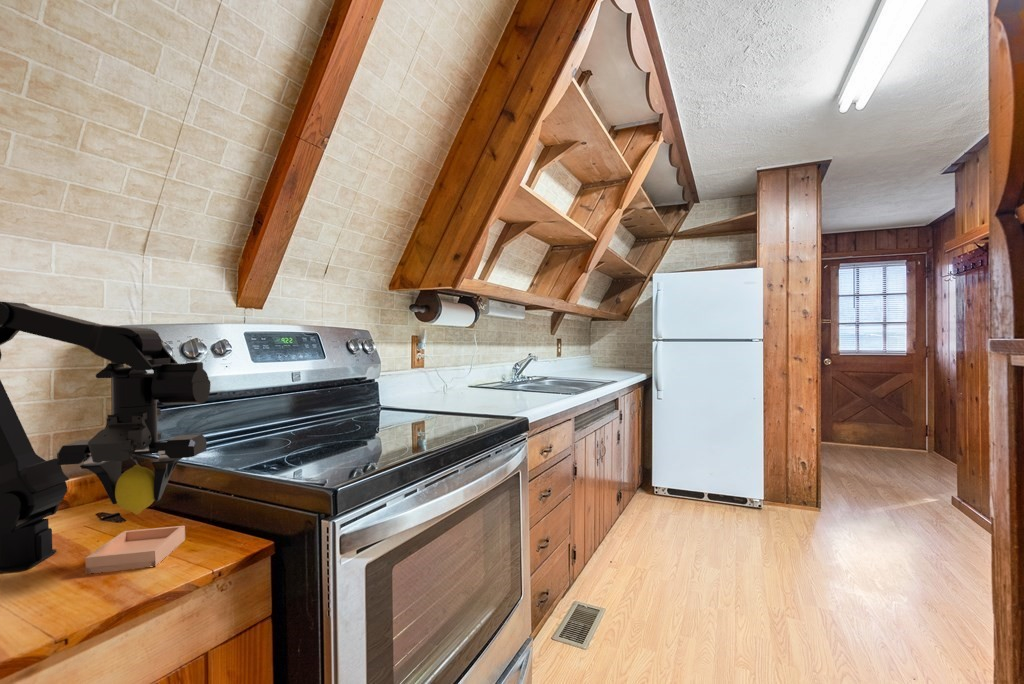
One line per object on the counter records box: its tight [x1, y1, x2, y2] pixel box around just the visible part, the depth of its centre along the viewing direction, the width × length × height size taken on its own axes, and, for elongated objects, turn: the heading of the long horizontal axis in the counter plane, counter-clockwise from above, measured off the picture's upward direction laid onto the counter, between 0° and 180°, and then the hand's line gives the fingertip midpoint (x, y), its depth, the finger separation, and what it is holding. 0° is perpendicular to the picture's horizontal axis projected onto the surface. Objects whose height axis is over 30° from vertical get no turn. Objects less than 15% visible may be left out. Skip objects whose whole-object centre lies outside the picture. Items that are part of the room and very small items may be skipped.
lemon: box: [115, 464, 155, 515], centre depth 79 cm, size 6×6×8 cm
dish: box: [84, 525, 186, 575], centre depth 79 cm, size 9×10×2 cm
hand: (136, 501), depth 79 cm, fingers closed on lemon, 5 cm apart
